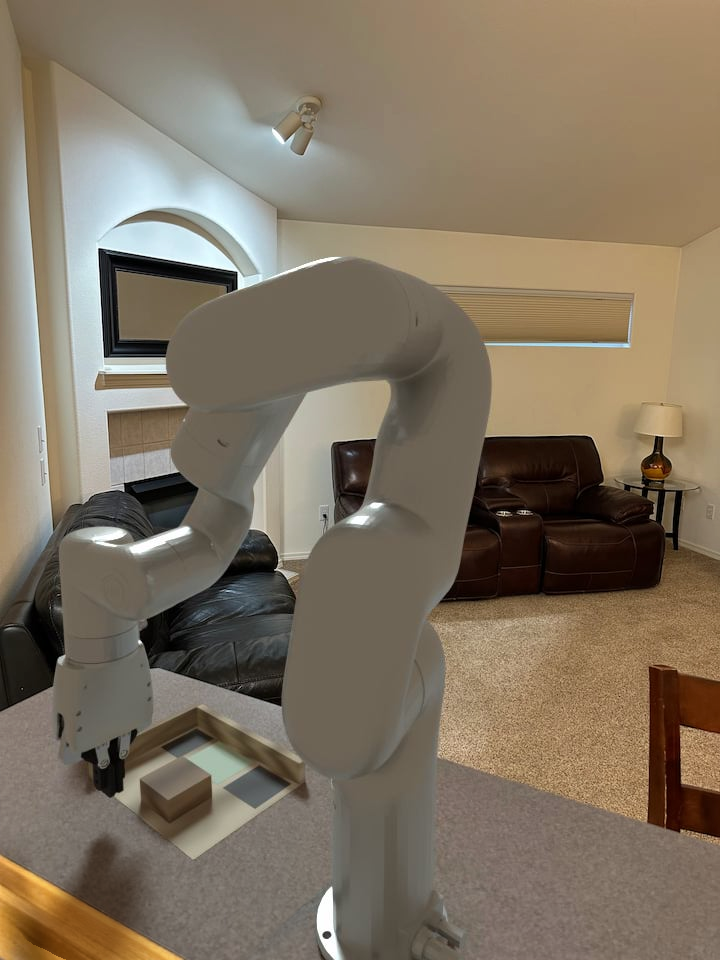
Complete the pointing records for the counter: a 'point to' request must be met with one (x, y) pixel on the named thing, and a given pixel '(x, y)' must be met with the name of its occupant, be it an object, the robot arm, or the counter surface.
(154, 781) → the block
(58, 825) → the counter surface
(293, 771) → the board
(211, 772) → the green pad
